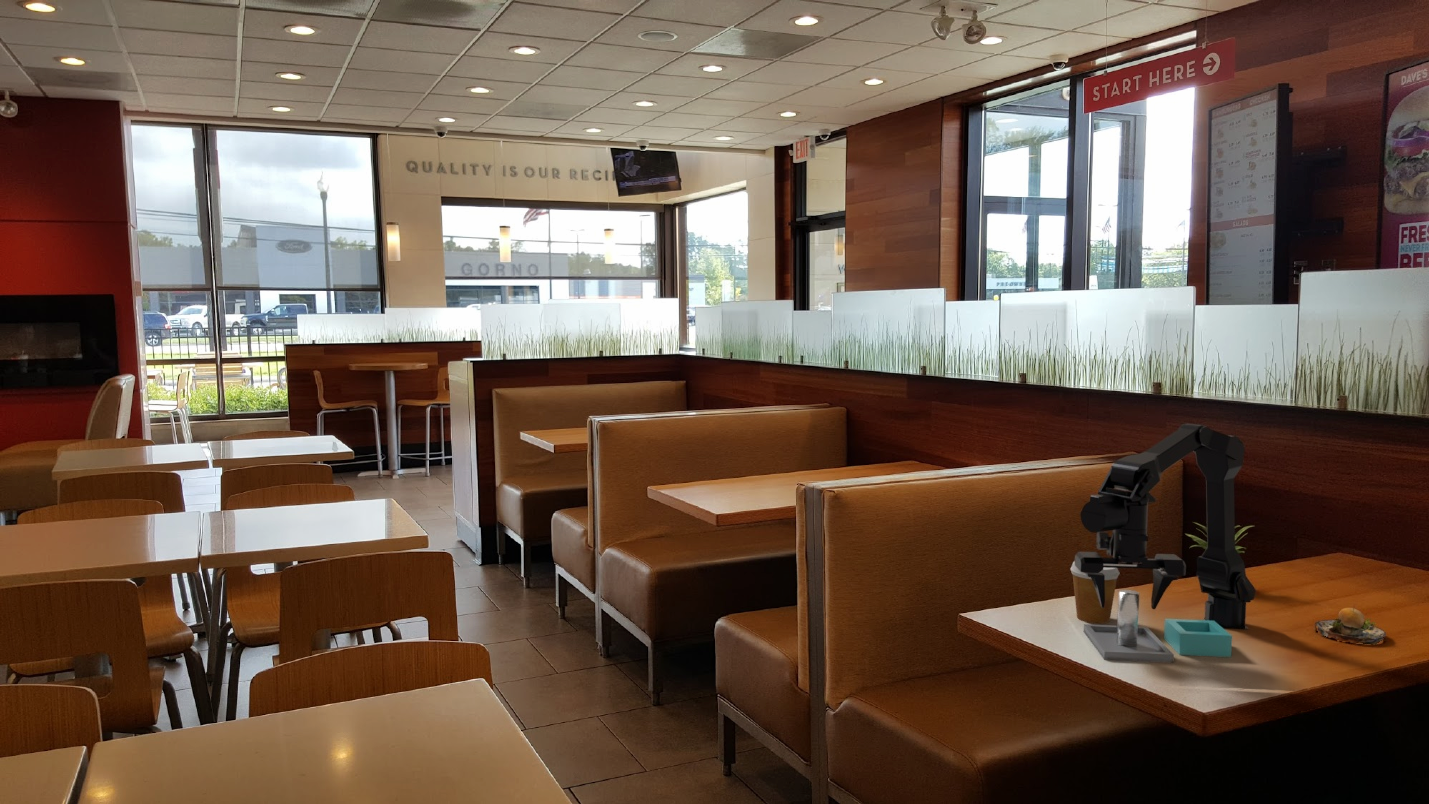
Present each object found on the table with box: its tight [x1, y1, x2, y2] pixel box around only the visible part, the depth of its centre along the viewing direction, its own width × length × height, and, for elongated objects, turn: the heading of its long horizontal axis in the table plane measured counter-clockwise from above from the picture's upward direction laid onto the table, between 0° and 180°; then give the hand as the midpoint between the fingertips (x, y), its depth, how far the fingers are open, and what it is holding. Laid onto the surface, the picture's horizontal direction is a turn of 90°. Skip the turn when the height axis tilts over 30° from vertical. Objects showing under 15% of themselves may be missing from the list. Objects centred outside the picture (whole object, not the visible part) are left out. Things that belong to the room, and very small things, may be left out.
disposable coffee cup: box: [1070, 560, 1120, 625], centre depth 201 cm, size 10×10×12 cm
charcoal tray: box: [1083, 623, 1175, 664], centre depth 185 cm, size 12×16×2 cm
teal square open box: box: [1163, 618, 1233, 658], centre depth 184 cm, size 9×9×4 cm
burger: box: [1314, 603, 1387, 645], centre depth 192 cm, size 12×12×8 cm
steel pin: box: [1116, 589, 1140, 647], centre depth 184 cm, size 4×4×10 cm
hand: (1127, 607), depth 184 cm, fingers open, 9 cm apart
